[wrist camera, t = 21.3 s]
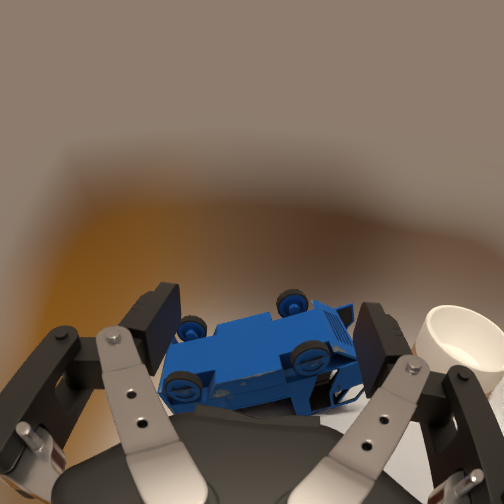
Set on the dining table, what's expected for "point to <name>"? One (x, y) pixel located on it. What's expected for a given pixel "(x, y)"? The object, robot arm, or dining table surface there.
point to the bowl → (462, 344)
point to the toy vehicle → (264, 359)
